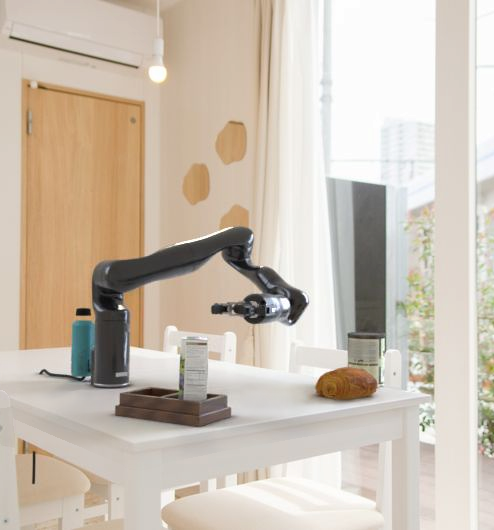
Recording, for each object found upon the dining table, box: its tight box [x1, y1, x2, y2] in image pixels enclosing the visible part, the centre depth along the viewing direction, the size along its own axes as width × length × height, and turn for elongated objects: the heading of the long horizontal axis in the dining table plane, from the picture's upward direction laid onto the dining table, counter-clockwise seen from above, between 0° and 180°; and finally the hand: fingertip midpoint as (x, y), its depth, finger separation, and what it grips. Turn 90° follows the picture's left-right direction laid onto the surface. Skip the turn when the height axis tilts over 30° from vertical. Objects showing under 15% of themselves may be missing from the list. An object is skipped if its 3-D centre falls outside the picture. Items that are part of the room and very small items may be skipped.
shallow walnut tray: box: [114, 386, 232, 428], centre depth 145 cm, size 21×12×4 cm, turn 61°
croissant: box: [315, 366, 378, 401], centre depth 173 cm, size 14×16×8 cm
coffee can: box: [346, 331, 386, 388], centre depth 192 cm, size 10×10×14 cm
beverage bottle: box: [70, 307, 95, 378], centre depth 192 cm, size 6×7×20 cm
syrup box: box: [178, 336, 210, 401], centre depth 143 cm, size 6×6×14 cm
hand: (228, 310), depth 160 cm, fingers open, 8 cm apart
